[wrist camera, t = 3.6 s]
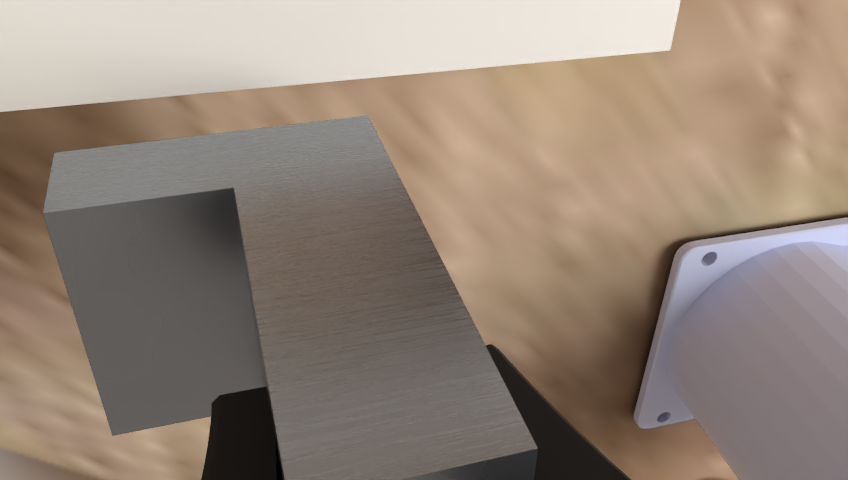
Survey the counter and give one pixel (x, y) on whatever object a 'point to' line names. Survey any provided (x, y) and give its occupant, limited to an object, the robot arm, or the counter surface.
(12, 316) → the counter surface
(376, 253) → the stepped metal block
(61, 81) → the white rectangular frame
